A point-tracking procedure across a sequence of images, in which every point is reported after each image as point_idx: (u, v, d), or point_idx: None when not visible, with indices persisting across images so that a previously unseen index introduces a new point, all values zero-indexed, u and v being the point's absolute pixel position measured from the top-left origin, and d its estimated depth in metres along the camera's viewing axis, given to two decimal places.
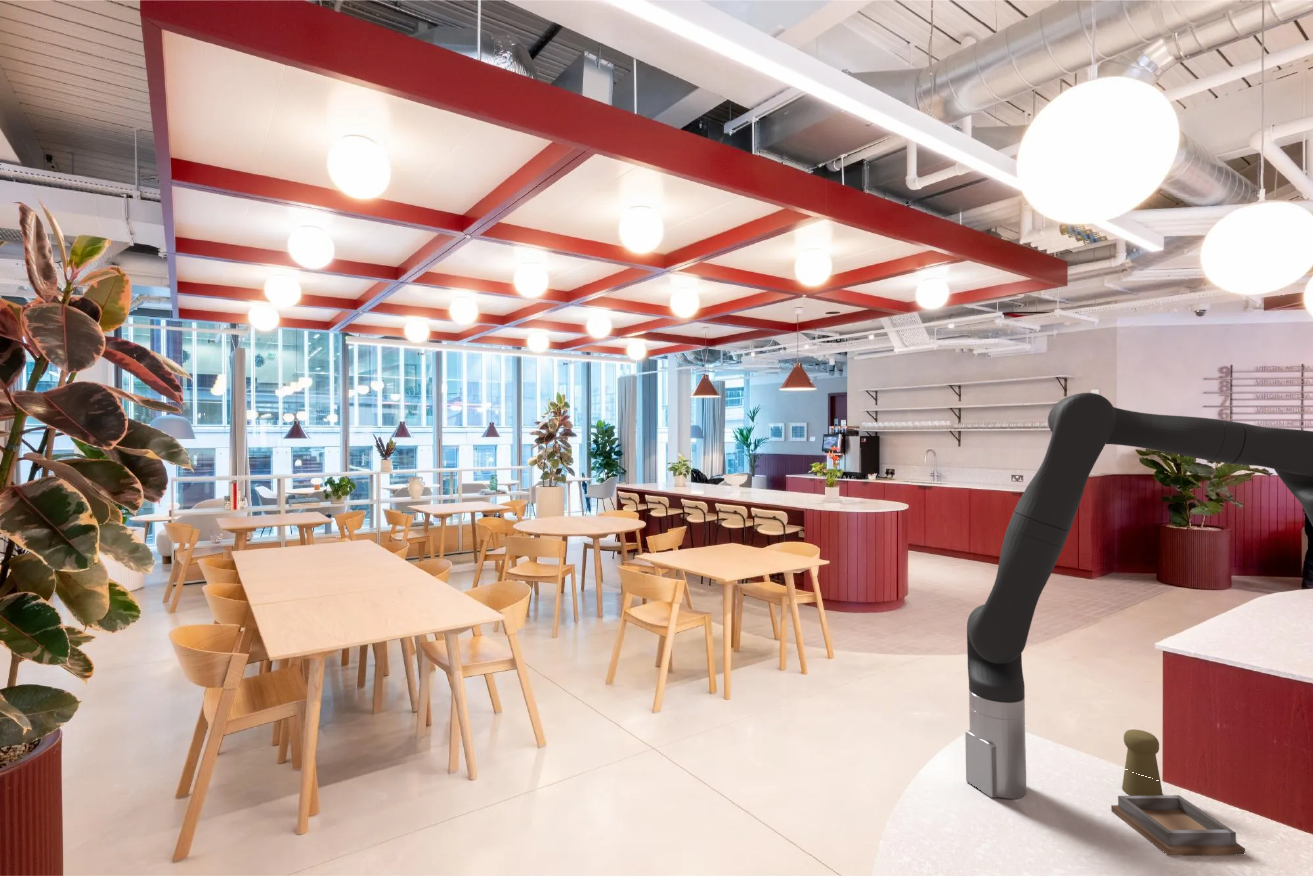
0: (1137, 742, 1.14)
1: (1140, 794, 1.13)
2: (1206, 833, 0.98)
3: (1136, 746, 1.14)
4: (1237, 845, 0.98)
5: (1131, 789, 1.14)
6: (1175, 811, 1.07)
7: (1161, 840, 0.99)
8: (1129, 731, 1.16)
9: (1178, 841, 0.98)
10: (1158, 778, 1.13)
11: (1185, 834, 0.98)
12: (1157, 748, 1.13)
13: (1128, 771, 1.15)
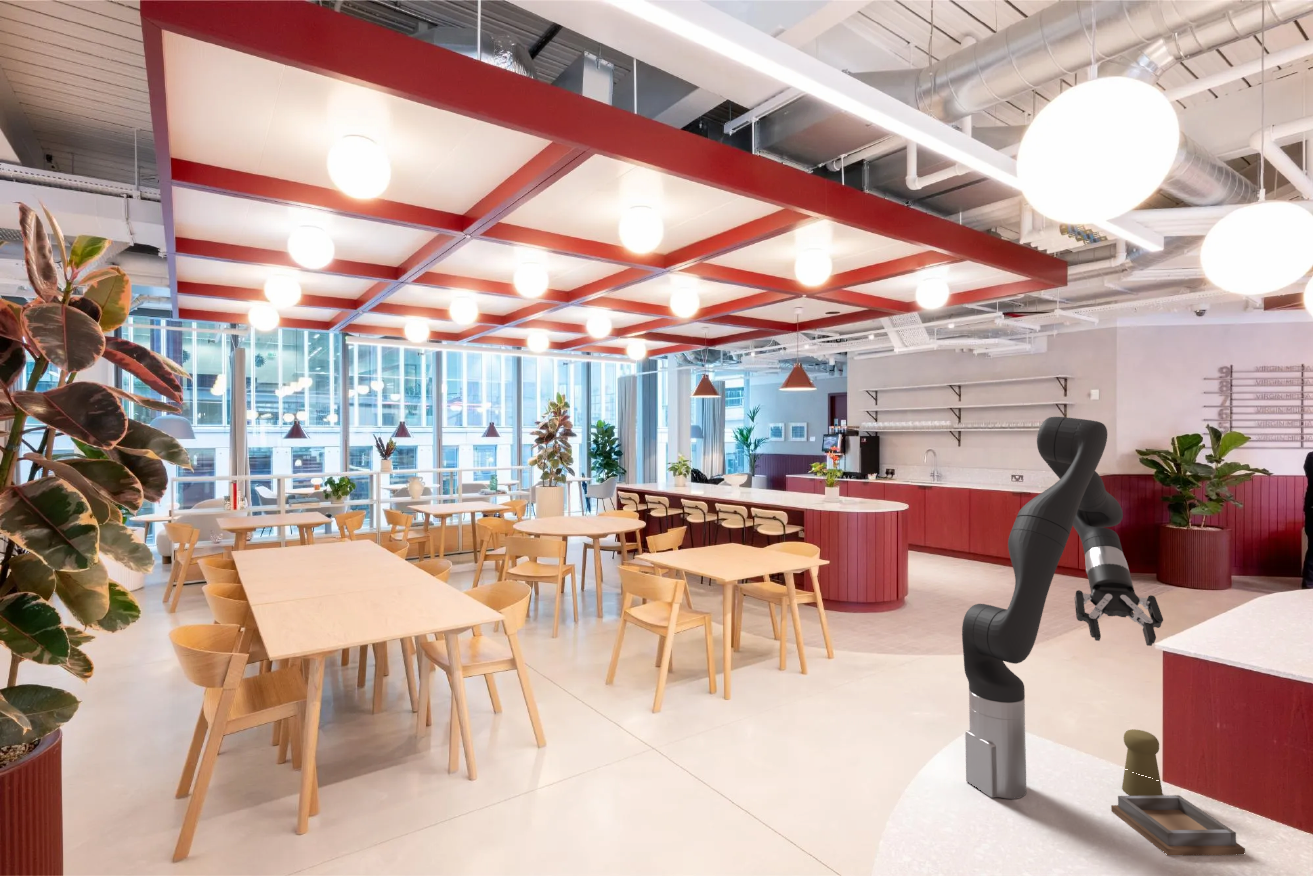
0: (1137, 742, 1.14)
1: (1140, 794, 1.13)
2: (1206, 833, 0.98)
3: (1136, 746, 1.14)
4: (1237, 845, 0.98)
5: (1131, 789, 1.14)
6: (1175, 811, 1.07)
7: (1161, 840, 0.99)
8: (1129, 731, 1.16)
9: (1178, 841, 0.98)
10: (1158, 778, 1.13)
11: (1185, 834, 0.98)
12: (1157, 748, 1.13)
13: (1128, 771, 1.15)
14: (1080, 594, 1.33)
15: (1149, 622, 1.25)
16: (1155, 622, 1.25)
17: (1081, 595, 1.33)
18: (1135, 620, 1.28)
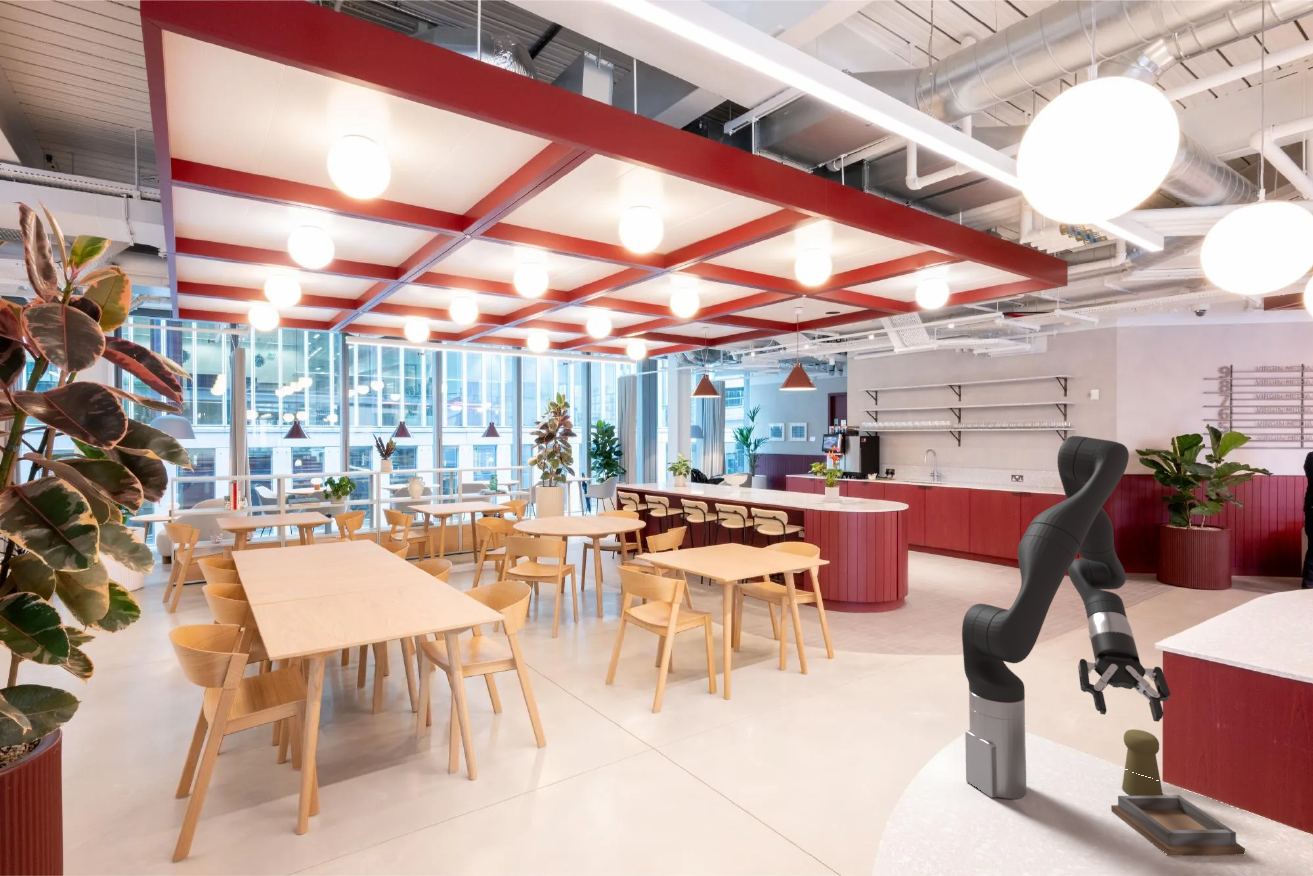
0: (1137, 742, 1.14)
1: (1140, 794, 1.13)
2: (1206, 833, 0.98)
3: (1136, 746, 1.14)
4: (1237, 845, 0.98)
5: (1131, 789, 1.14)
6: (1175, 811, 1.07)
7: (1161, 840, 0.99)
8: (1129, 731, 1.16)
9: (1178, 841, 0.98)
10: (1158, 778, 1.13)
11: (1185, 834, 0.98)
12: (1157, 748, 1.13)
13: (1128, 771, 1.15)
14: (1084, 663, 1.29)
15: (1156, 696, 1.21)
16: (1162, 696, 1.21)
17: (1085, 664, 1.29)
18: (1141, 692, 1.24)
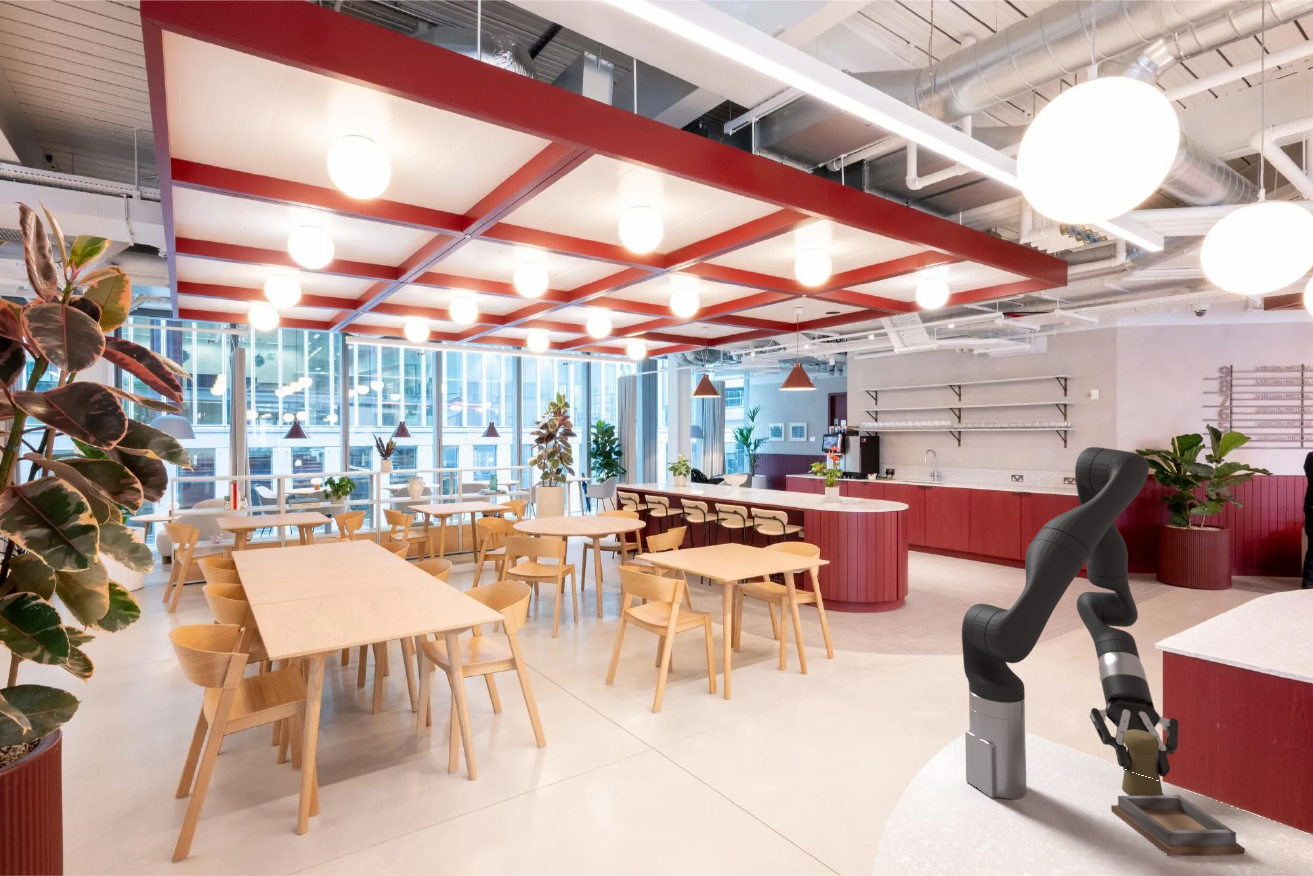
0: (1137, 742, 1.14)
1: (1140, 794, 1.13)
2: (1206, 833, 0.98)
3: (1136, 746, 1.14)
4: (1237, 845, 0.98)
5: (1131, 789, 1.14)
6: (1175, 811, 1.07)
7: (1161, 840, 0.99)
8: (1129, 731, 1.16)
9: (1178, 841, 0.98)
10: (1158, 778, 1.13)
11: (1185, 834, 0.98)
12: (1157, 748, 1.13)
13: (1128, 771, 1.15)
14: (1097, 713, 1.21)
15: (1161, 749, 1.14)
16: (1167, 748, 1.14)
17: (1098, 714, 1.21)
18: None
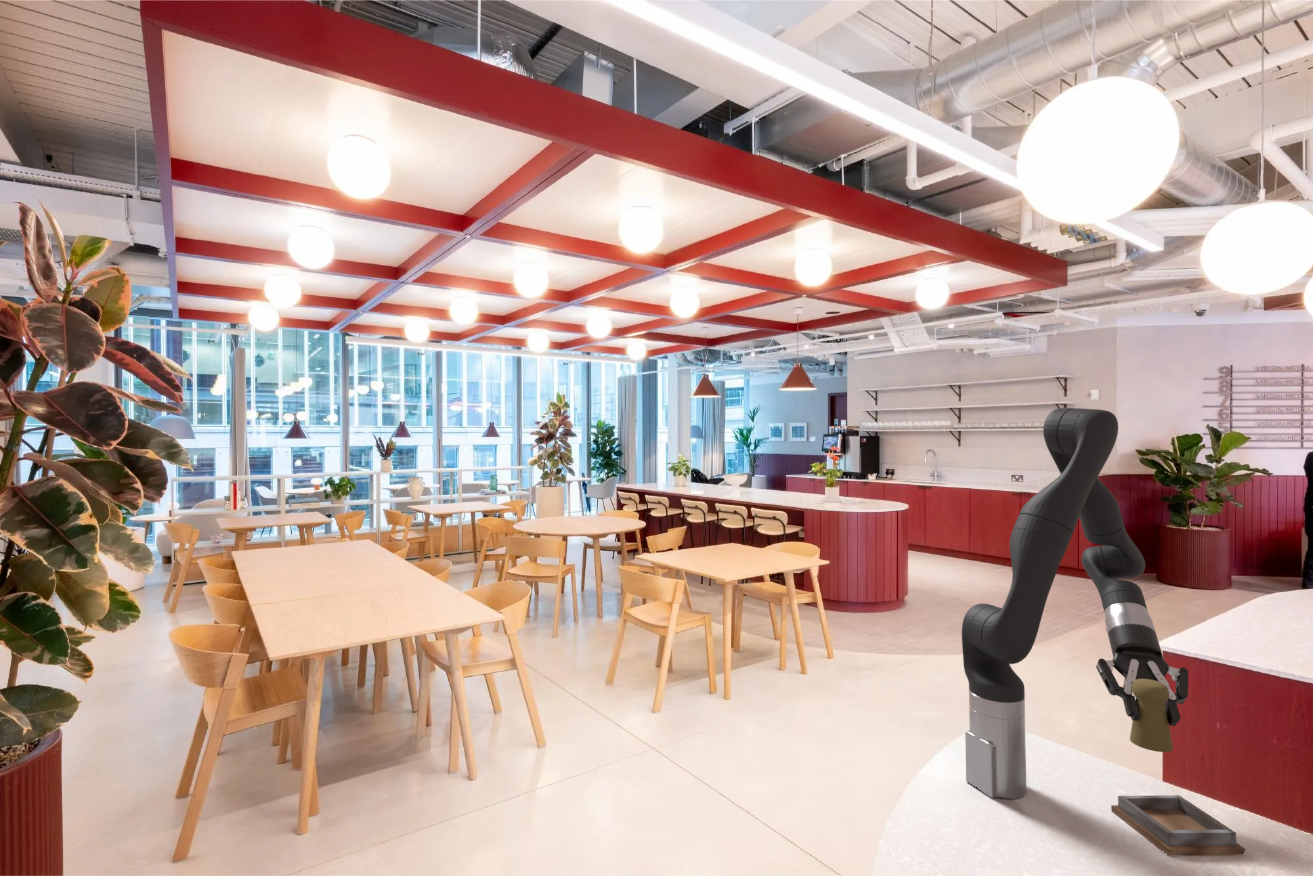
0: (1146, 690, 1.09)
1: (1149, 744, 1.09)
2: (1206, 833, 0.98)
3: (1145, 694, 1.09)
4: (1237, 845, 0.98)
5: (1140, 739, 1.10)
6: (1175, 811, 1.07)
7: (1161, 840, 0.99)
8: (1137, 680, 1.12)
9: (1178, 841, 0.98)
10: (1168, 727, 1.09)
11: (1185, 834, 0.98)
12: (1167, 696, 1.09)
13: (1136, 721, 1.11)
14: (1104, 663, 1.17)
15: (1171, 698, 1.10)
16: (1177, 697, 1.10)
17: (1106, 664, 1.16)
18: None
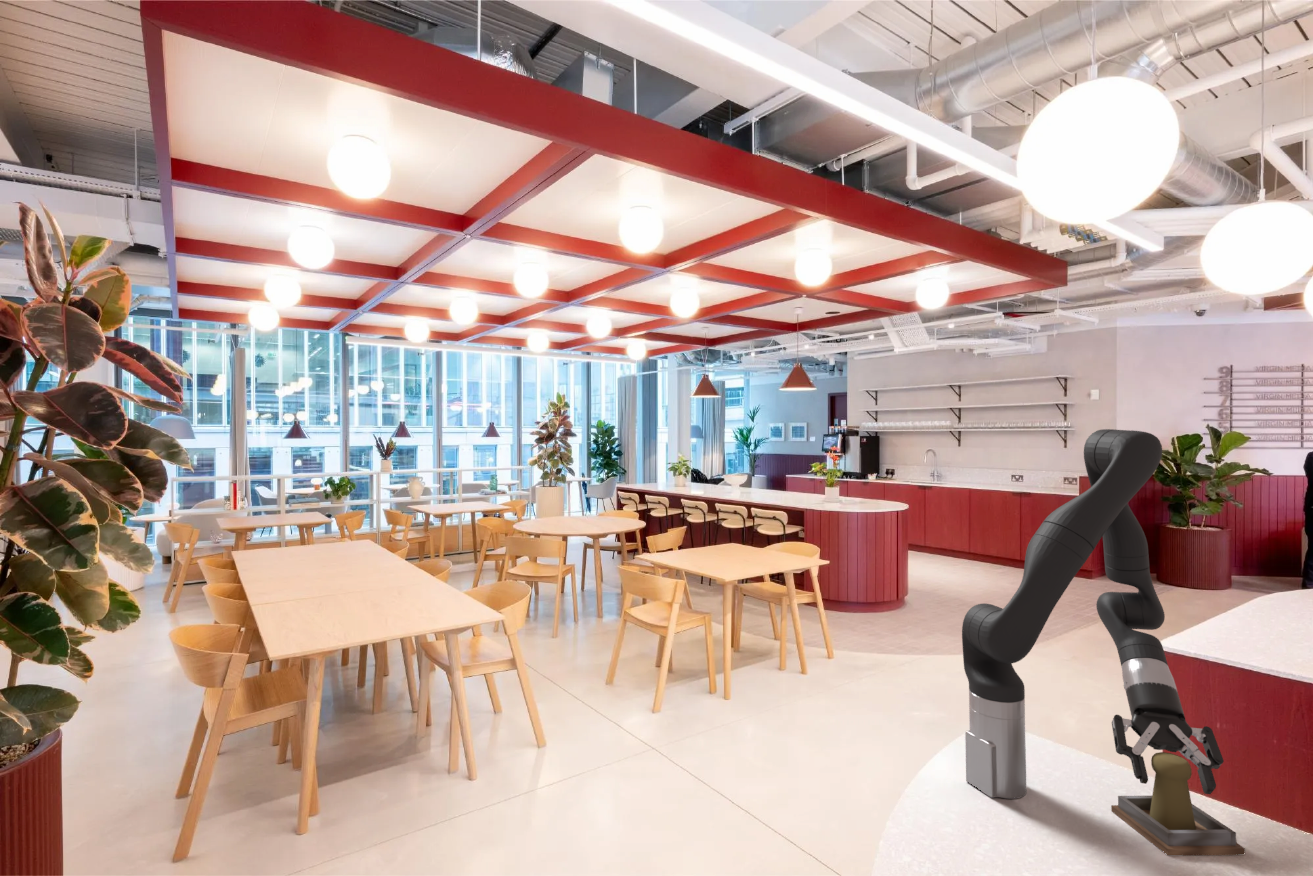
0: (1167, 766, 1.03)
1: (1171, 825, 1.02)
2: (1206, 833, 0.98)
3: (1166, 771, 1.03)
4: (1237, 845, 0.98)
5: (1161, 819, 1.03)
6: None
7: (1161, 840, 0.99)
8: (1157, 754, 1.05)
9: (1178, 841, 0.98)
10: (1190, 807, 1.02)
11: (1185, 834, 0.98)
12: (1189, 774, 1.02)
13: (1156, 798, 1.04)
14: (1119, 720, 1.10)
15: (1206, 763, 1.02)
16: (1213, 763, 1.03)
17: (1121, 721, 1.10)
18: (1187, 757, 1.05)
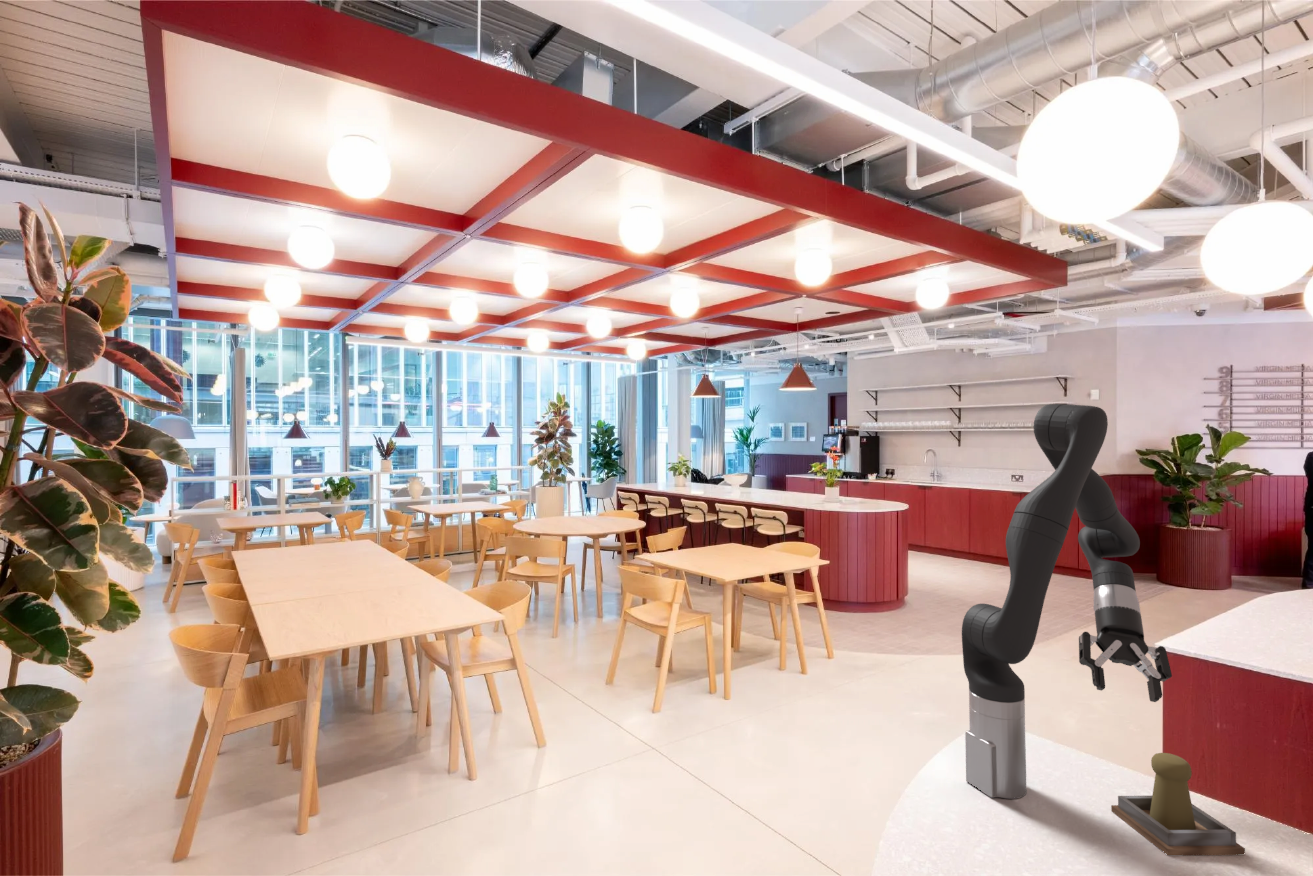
0: (1167, 767, 1.02)
1: (1171, 825, 1.02)
2: (1206, 833, 0.98)
3: (1166, 772, 1.02)
4: (1237, 845, 0.98)
5: (1161, 820, 1.03)
6: None
7: (1161, 840, 0.99)
8: (1157, 755, 1.05)
9: (1178, 841, 0.98)
10: (1190, 808, 1.02)
11: (1185, 834, 0.98)
12: (1189, 774, 1.02)
13: (1156, 799, 1.04)
14: (1087, 636, 1.23)
15: (1157, 677, 1.17)
16: (1163, 677, 1.17)
17: (1088, 638, 1.23)
18: (1140, 670, 1.20)
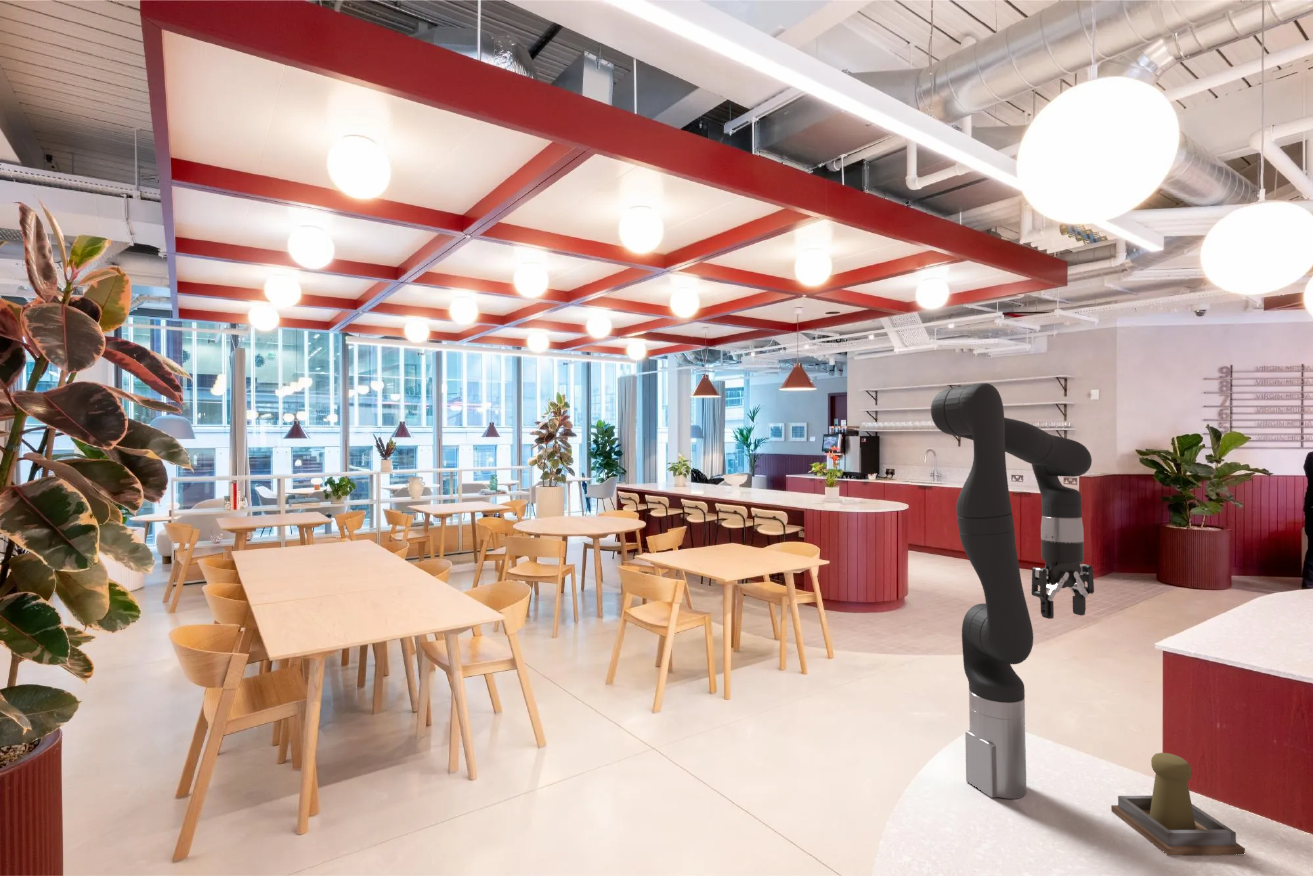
0: (1167, 767, 1.02)
1: (1171, 825, 1.02)
2: (1206, 833, 0.98)
3: (1166, 772, 1.02)
4: (1237, 845, 0.98)
5: (1161, 820, 1.03)
6: None
7: (1161, 840, 0.99)
8: (1157, 755, 1.05)
9: (1178, 841, 0.98)
10: (1190, 808, 1.02)
11: (1185, 834, 0.98)
12: (1189, 774, 1.02)
13: (1156, 799, 1.04)
14: (1045, 574, 1.28)
15: (1085, 596, 1.31)
16: None
17: (1045, 575, 1.28)
18: (1069, 587, 1.33)
